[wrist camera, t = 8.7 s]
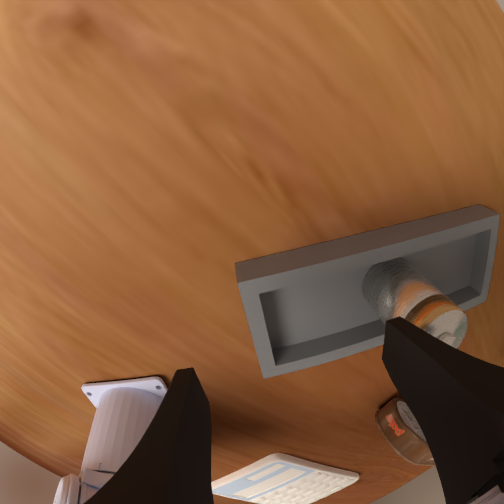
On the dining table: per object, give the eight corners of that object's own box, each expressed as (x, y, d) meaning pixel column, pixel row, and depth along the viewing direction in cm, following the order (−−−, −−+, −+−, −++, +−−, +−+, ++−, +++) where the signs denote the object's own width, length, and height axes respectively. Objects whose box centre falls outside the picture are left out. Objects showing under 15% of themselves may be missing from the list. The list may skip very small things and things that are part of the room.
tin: (363, 404, 27) (393, 467, 20) (386, 385, 27) (421, 448, 19) (421, 425, 32) (445, 469, 25) (438, 410, 32) (465, 454, 24)
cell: (409, 295, 21) (467, 357, 14) (363, 313, 21) (412, 386, 14) (410, 247, 19) (479, 305, 13) (359, 265, 19) (420, 335, 13)
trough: (469, 287, 23) (485, 300, 21) (259, 355, 23) (263, 378, 20) (479, 204, 20) (499, 214, 17) (234, 263, 19) (237, 283, 17)
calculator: (295, 501, 40) (297, 510, 38) (203, 482, 33) (203, 493, 31) (359, 470, 37) (363, 479, 35) (275, 447, 30) (278, 460, 28)
